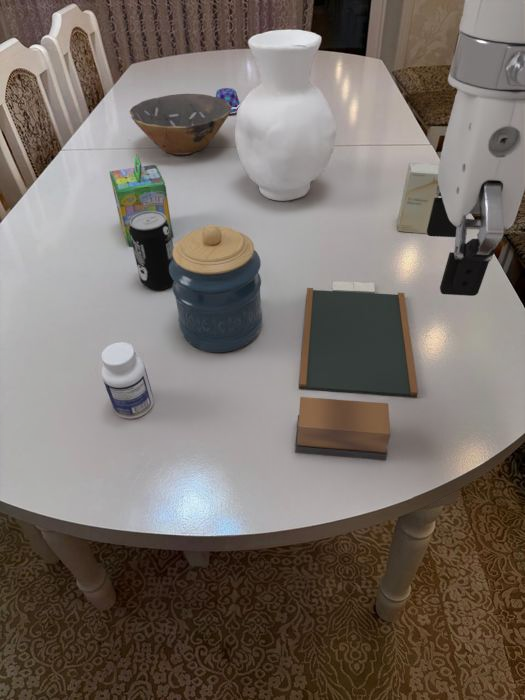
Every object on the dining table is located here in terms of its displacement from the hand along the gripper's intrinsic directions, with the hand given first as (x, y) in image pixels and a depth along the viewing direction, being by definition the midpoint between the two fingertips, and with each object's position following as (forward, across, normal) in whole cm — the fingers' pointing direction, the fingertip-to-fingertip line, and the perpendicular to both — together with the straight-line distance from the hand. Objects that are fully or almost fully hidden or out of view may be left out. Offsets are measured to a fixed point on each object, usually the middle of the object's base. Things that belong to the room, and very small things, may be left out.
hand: (449, 262), depth 48 cm
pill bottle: (+24, -1, +36) cm, 44 cm away
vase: (+24, +63, +21) cm, 71 cm away
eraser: (+24, -4, +8) cm, 26 cm away
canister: (+24, +16, +27) cm, 40 cm away
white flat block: (+24, +28, +4) cm, 37 cm away
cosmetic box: (+24, +49, -6) cm, 55 cm away
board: (+24, +15, +6) cm, 29 cm away
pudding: (+24, +115, +43) cm, 125 cm away
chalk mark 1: (+24, +28, +8) cm, 38 cm away
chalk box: (+24, +43, +47) cm, 68 cm away
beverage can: (+24, +27, +40) cm, 54 cm away
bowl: (+24, +85, +49) cm, 101 cm away
